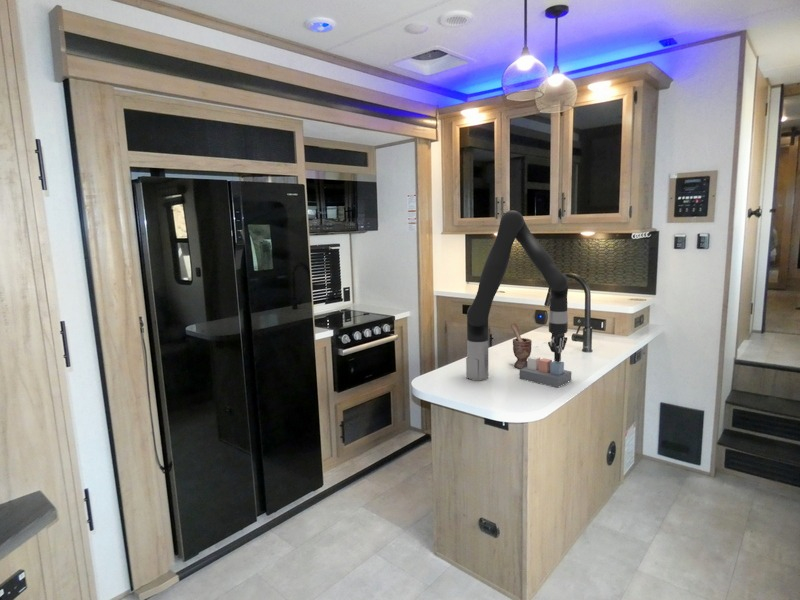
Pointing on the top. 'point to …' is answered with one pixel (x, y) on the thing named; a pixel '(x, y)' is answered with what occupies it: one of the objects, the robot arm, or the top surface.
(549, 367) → the coral key
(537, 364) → the white key
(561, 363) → the slate-blue key
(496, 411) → the top surface
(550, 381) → the grey flat block
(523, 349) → the mortar and pestle
